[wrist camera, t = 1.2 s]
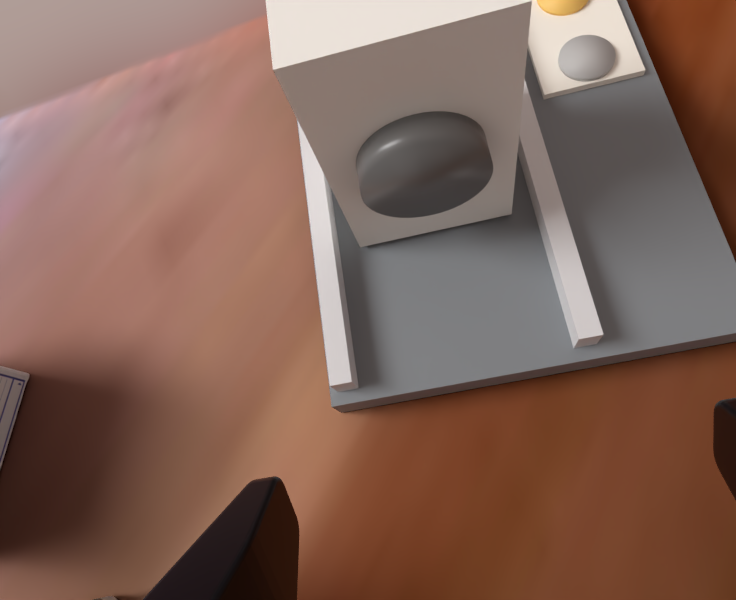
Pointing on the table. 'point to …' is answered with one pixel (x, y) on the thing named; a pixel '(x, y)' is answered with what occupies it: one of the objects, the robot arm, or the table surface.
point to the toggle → (407, 105)
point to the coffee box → (107, 598)
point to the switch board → (538, 240)
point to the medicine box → (9, 403)
